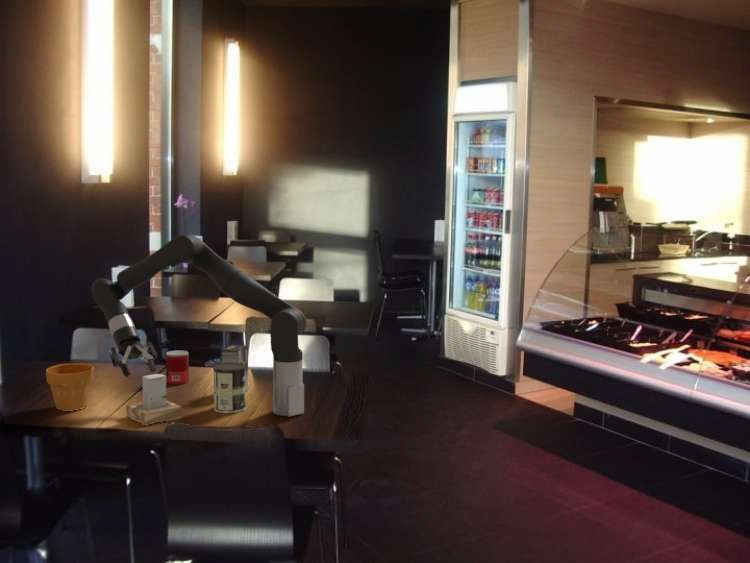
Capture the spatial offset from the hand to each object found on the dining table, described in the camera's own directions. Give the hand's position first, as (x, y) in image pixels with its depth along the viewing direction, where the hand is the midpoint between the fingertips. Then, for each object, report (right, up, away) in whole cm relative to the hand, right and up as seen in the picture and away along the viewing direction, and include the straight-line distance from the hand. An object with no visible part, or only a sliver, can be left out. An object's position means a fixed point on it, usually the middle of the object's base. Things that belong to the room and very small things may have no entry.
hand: (141, 373), depth 255 cm
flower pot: (-23, -12, +4) cm, 26 cm away
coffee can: (+27, -12, +6) cm, 30 cm away
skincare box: (+6, -12, -5) cm, 14 cm away
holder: (+5, -13, -5) cm, 15 cm away
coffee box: (+25, -10, +25) cm, 37 cm away
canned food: (+2, -8, +37) cm, 38 cm away
